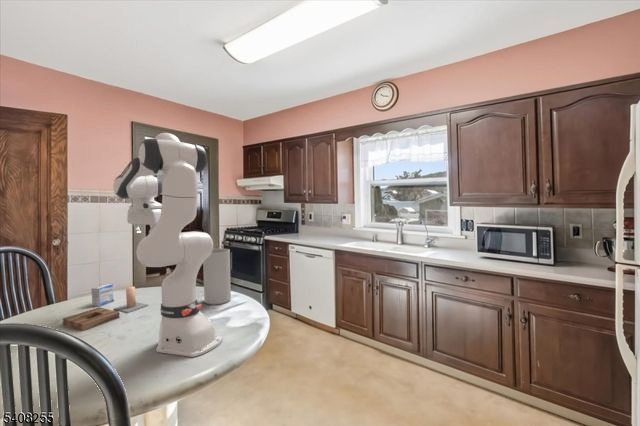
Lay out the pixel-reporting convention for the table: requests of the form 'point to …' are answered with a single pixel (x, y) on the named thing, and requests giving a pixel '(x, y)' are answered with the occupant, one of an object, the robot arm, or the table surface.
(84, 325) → the pocket block
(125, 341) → the table surface
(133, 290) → the peg
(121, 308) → the mat
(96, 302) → the medicine box
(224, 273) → the cylinder vase
